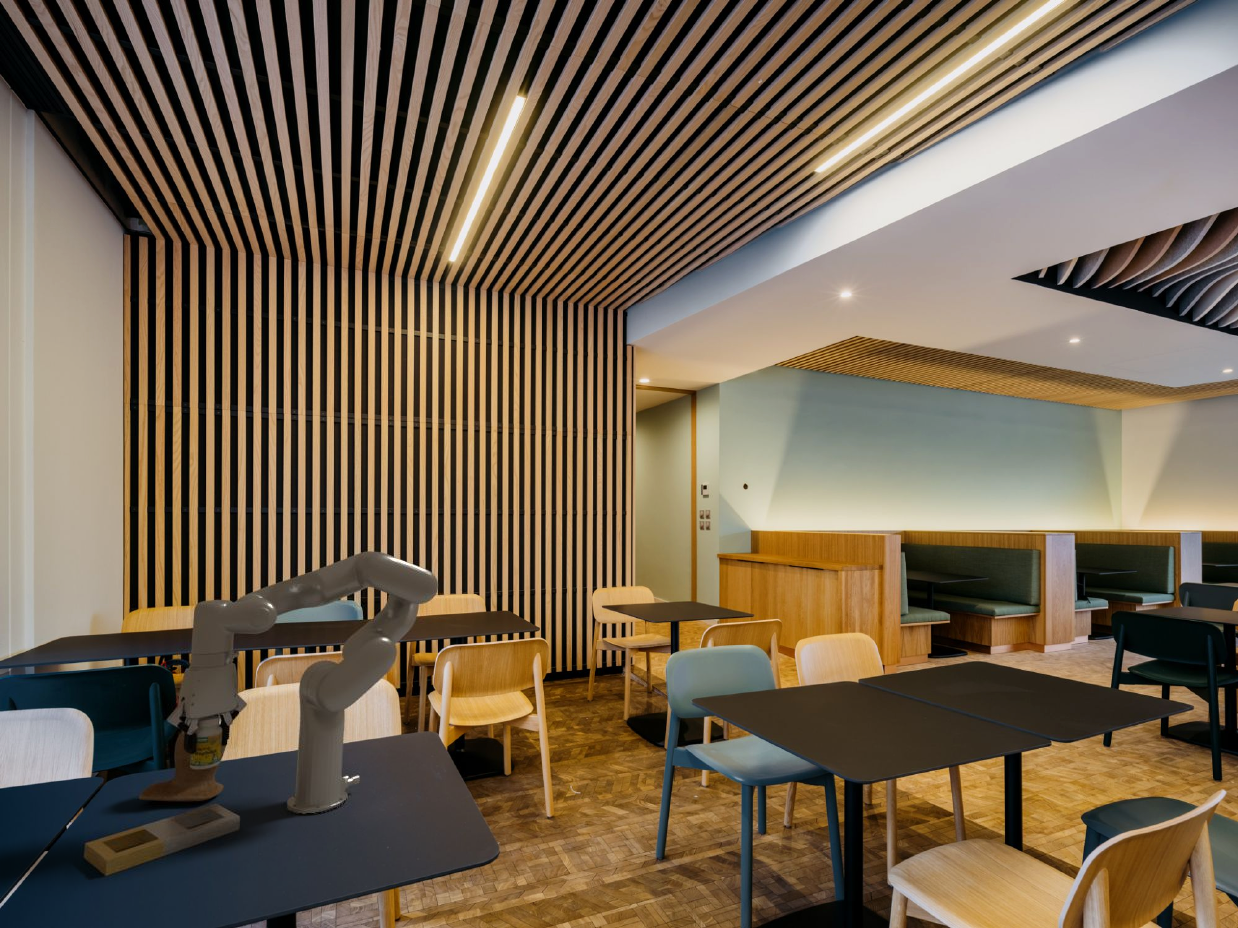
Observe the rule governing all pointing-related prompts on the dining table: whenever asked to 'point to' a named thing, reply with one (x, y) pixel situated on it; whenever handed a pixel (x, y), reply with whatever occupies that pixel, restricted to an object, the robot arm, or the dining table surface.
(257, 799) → the dining table surface
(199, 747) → the supplement bottle
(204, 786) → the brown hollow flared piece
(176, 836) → the holder
